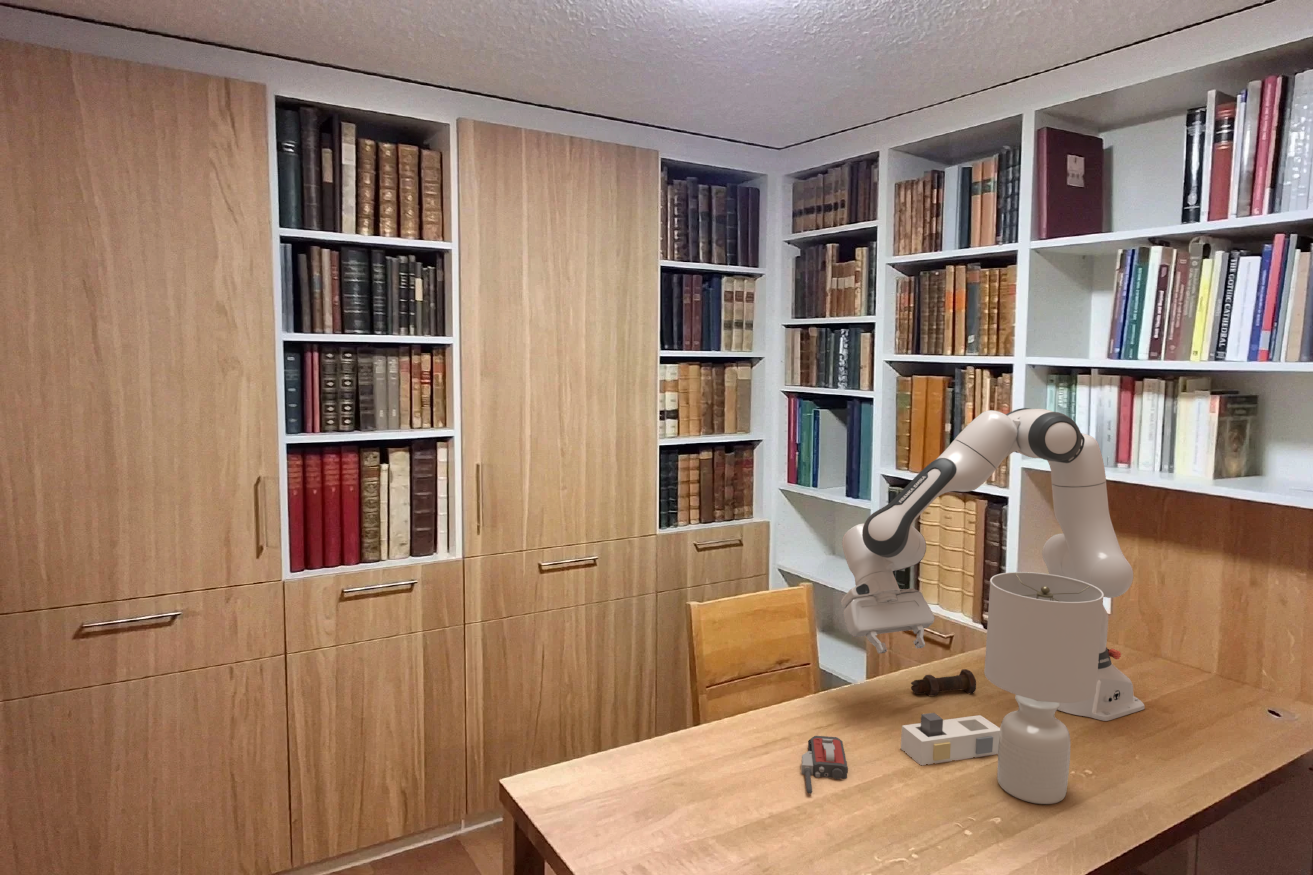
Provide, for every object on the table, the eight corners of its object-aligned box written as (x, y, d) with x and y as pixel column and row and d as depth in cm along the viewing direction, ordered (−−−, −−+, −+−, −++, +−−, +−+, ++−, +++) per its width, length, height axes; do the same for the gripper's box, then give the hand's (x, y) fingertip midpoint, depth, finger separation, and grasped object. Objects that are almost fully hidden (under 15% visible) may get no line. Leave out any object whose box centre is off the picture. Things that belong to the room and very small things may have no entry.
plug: (931, 749, 167) (934, 712, 166) (940, 756, 164) (943, 719, 163) (919, 751, 166) (921, 714, 165) (928, 758, 163) (930, 720, 162)
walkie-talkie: (798, 745, 169) (803, 798, 149) (799, 725, 168) (804, 775, 148) (841, 748, 167) (852, 802, 148) (842, 728, 167) (853, 779, 147)
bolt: (911, 700, 194) (968, 694, 197) (920, 698, 190) (979, 692, 193) (905, 676, 197) (962, 670, 199) (914, 673, 192) (972, 667, 195)
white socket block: (978, 737, 173) (980, 714, 172) (1003, 754, 165) (1004, 731, 165) (900, 748, 167) (901, 725, 167) (922, 766, 160) (923, 742, 159)
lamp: (1085, 828, 140) (1103, 609, 136) (970, 798, 149) (983, 591, 145) (1088, 779, 156) (1104, 581, 152) (984, 753, 165) (996, 566, 161)
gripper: (912, 593, 189) (936, 649, 181) (834, 602, 183) (855, 660, 175) (925, 581, 184) (950, 638, 176) (844, 589, 178) (867, 649, 170)
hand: (902, 649), depth 175 cm, fingers open, 8 cm apart
